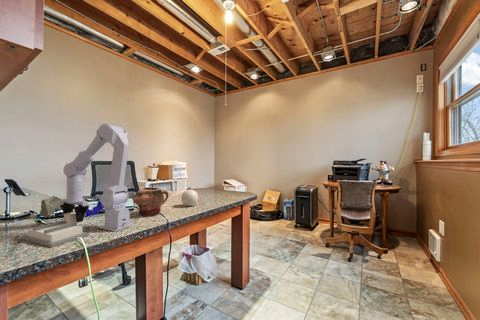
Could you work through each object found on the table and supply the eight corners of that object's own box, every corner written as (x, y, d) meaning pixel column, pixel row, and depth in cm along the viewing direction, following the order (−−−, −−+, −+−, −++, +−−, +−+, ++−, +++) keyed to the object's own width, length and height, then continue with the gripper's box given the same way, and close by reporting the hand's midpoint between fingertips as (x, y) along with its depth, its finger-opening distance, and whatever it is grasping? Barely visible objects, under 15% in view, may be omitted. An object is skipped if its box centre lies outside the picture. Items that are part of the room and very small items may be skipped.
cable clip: (97, 211, 118) (97, 200, 118) (104, 211, 118) (104, 200, 118) (77, 217, 107) (77, 205, 107) (84, 217, 106) (85, 205, 106)
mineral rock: (67, 211, 117) (67, 192, 117) (74, 214, 111) (75, 195, 111) (35, 215, 107) (35, 195, 106) (41, 219, 100) (42, 198, 100)
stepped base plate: (88, 235, 82) (88, 223, 82) (51, 247, 71) (51, 234, 71) (59, 229, 88) (59, 218, 88) (21, 238, 77) (21, 226, 77)
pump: (87, 221, 99) (87, 211, 99) (69, 226, 92) (69, 215, 92) (81, 220, 101) (82, 210, 101) (63, 225, 94) (64, 213, 94)
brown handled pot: (159, 208, 127) (160, 185, 127) (174, 211, 121) (174, 187, 121) (127, 216, 110) (128, 189, 110) (142, 220, 104) (143, 191, 104)
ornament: (185, 203, 142) (186, 185, 142) (200, 204, 140) (200, 186, 140) (178, 207, 132) (178, 187, 132) (194, 208, 130) (194, 188, 130)
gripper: (94, 190, 97) (94, 220, 97) (74, 188, 102) (73, 216, 102) (78, 192, 90) (77, 224, 90) (56, 190, 95) (56, 220, 95)
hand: (74, 220), depth 96 cm, fingers open, 7 cm apart
